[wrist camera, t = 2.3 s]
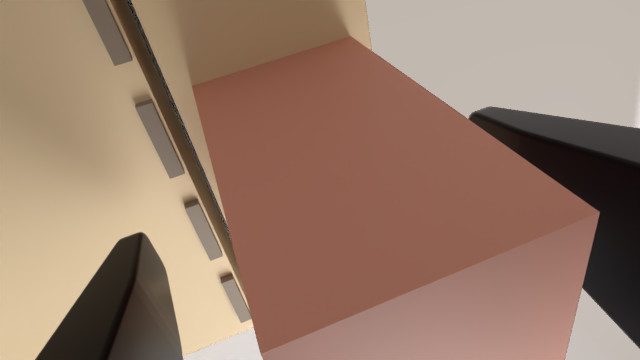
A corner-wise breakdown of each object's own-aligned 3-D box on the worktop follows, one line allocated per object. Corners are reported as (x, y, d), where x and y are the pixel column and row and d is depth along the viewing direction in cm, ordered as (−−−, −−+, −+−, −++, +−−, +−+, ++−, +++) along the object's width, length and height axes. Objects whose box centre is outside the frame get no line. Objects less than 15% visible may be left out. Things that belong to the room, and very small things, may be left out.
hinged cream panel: (242, 267, 14) (259, 331, 12) (14, 354, 13) (-9, 441, 11) (85, -95, 8) (67, -89, 6) (-349, 11, 7) (-544, 60, 5)
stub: (366, 219, 15) (550, 489, 8) (251, 263, 14) (348, 594, 8) (302, -148, 9) (768, -249, 2) (101, -99, 8) (-52, -47, 2)
